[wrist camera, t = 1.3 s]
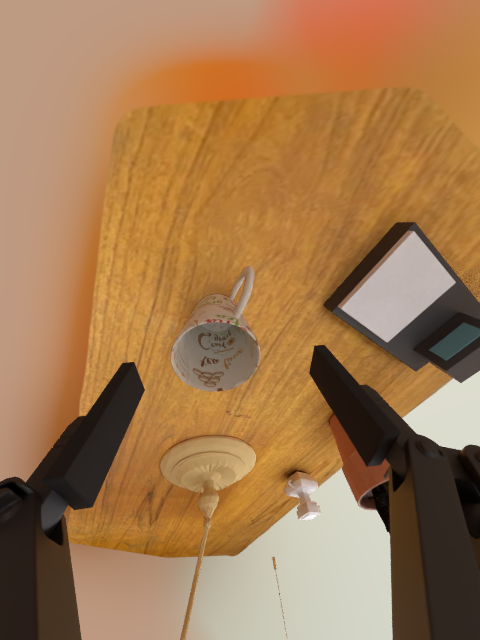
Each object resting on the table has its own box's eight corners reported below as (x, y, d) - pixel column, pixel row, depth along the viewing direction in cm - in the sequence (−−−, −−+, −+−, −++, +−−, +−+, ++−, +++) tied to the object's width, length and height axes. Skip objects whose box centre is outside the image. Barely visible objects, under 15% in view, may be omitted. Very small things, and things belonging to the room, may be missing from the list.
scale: (322, 305, 27) (356, 330, 21) (396, 222, 23) (468, 221, 16) (404, 362, 35) (447, 394, 28) (470, 309, 31) (539, 332, 24)
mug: (179, 328, 26) (159, 381, 17) (210, 241, 21) (205, 254, 13) (232, 345, 29) (238, 398, 20) (270, 270, 24) (302, 298, 15)
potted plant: (330, 442, 45) (435, 647, 23) (309, 415, 39) (426, 657, 17) (383, 418, 43) (556, 621, 21) (370, 386, 37) (593, 623, 15)
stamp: (316, 471, 52) (332, 512, 45) (300, 482, 54) (314, 523, 47) (292, 466, 49) (306, 509, 42) (277, 477, 51) (287, 520, 44)
